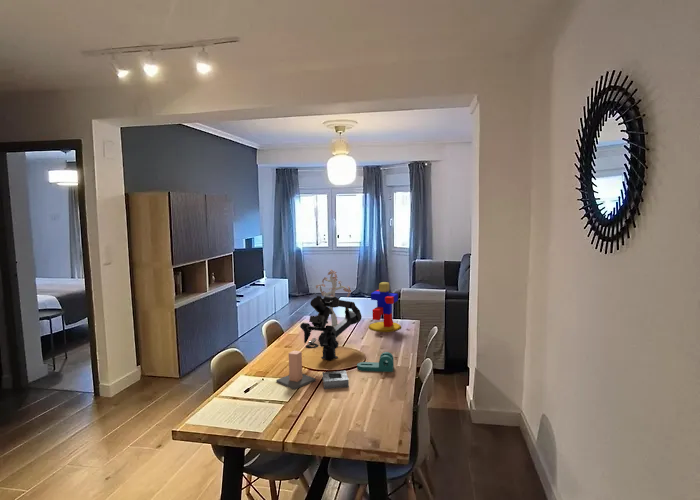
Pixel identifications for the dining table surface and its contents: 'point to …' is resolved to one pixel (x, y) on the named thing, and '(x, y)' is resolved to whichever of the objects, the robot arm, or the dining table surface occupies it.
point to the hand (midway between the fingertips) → (312, 344)
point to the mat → (294, 384)
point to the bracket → (378, 364)
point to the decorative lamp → (333, 293)
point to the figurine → (384, 309)
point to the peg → (295, 365)
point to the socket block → (335, 379)
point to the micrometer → (312, 343)
